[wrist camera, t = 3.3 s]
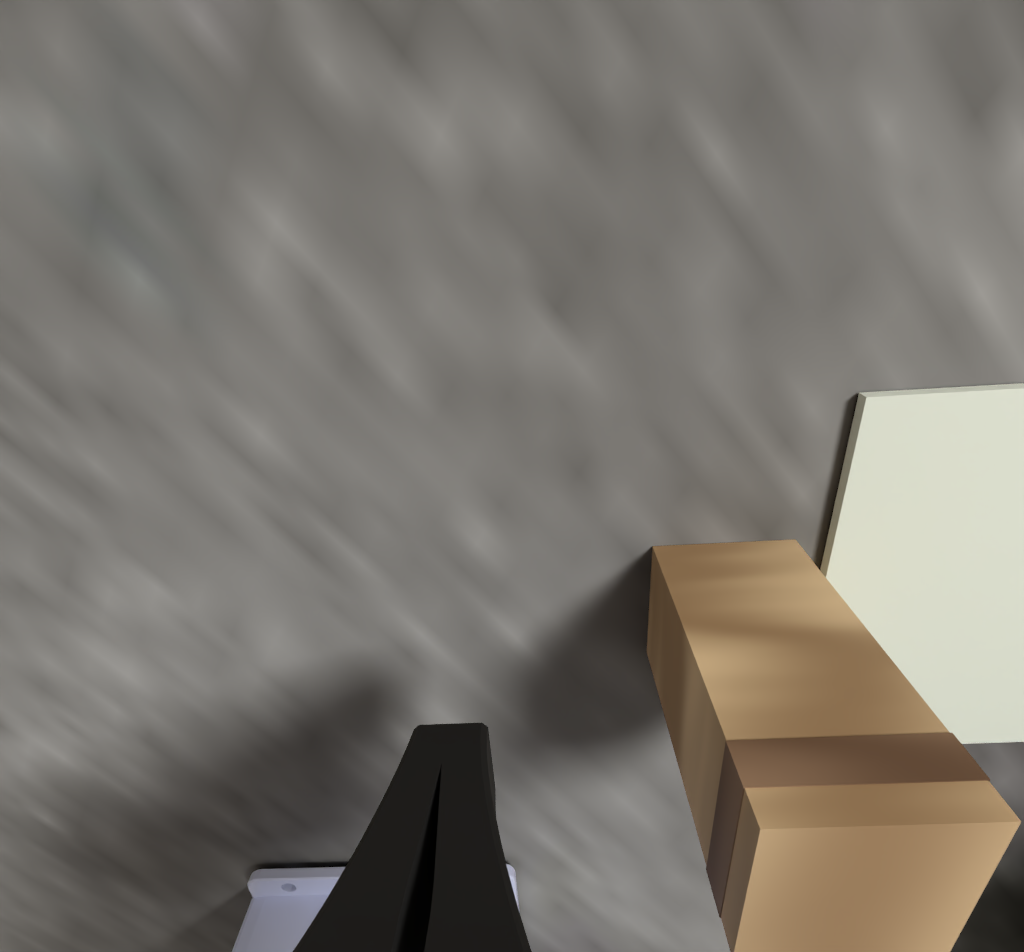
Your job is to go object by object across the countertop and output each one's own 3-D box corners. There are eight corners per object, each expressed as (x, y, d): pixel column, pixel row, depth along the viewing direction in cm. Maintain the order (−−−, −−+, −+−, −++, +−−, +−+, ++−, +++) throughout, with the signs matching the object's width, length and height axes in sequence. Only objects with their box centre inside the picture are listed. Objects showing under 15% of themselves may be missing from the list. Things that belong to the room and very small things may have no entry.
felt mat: (782, 740, 17) (787, 749, 17) (859, 392, 12) (865, 397, 12) (1126, 729, 17) (1136, 738, 16) (1347, 364, 12) (1366, 368, 12)
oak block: (645, 652, 16) (731, 959, 9) (651, 545, 14) (759, 827, 8) (775, 647, 16) (950, 954, 9) (795, 538, 14) (1023, 821, 8)
